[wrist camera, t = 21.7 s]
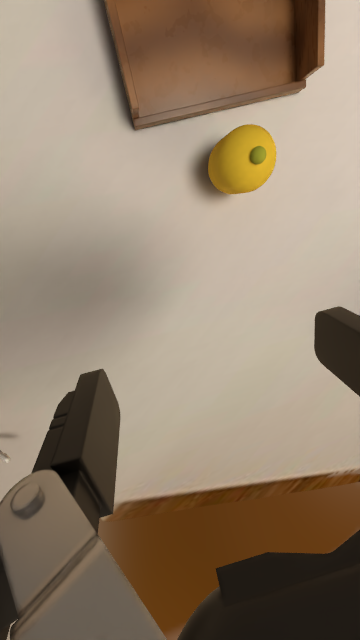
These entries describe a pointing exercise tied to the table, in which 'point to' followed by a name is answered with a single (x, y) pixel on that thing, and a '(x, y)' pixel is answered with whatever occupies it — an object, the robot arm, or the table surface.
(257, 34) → the tray
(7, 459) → the wall mount rack
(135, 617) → the robot arm
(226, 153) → the lemon
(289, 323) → the table surface
